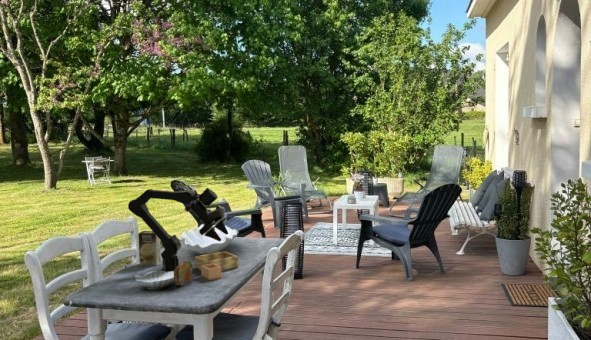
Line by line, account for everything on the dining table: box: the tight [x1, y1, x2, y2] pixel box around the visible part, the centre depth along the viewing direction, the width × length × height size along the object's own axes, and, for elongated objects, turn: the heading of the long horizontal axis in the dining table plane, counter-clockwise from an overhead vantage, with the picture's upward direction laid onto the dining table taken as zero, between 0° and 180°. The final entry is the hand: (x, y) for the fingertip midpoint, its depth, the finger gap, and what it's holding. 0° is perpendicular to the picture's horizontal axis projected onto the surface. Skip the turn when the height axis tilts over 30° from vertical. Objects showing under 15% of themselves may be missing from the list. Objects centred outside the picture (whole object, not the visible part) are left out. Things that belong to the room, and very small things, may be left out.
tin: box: [173, 261, 194, 286], centre depth 239 cm, size 15×3×8 cm, turn 168°
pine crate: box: [194, 251, 239, 272], centre depth 261 cm, size 16×13×6 cm
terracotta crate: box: [200, 264, 223, 281], centre depth 246 cm, size 6×8×5 cm
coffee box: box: [138, 230, 162, 266], centre depth 272 cm, size 9×6×16 cm
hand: (224, 237), depth 258 cm, fingers open, 9 cm apart
